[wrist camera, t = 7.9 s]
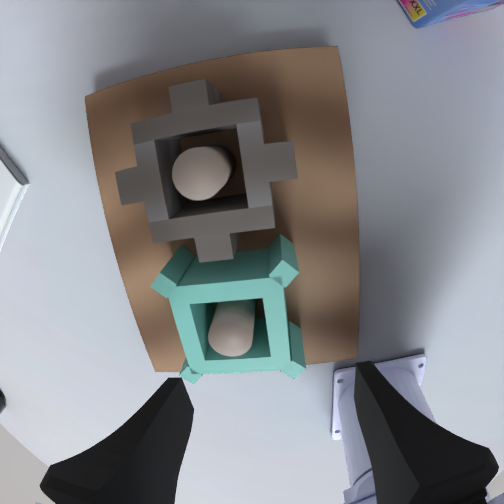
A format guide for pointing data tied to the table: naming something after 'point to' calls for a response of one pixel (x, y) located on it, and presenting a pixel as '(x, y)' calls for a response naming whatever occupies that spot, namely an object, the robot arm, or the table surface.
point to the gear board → (234, 190)
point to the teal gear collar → (229, 289)
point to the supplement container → (2, 402)
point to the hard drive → (9, 193)
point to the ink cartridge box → (443, 9)
